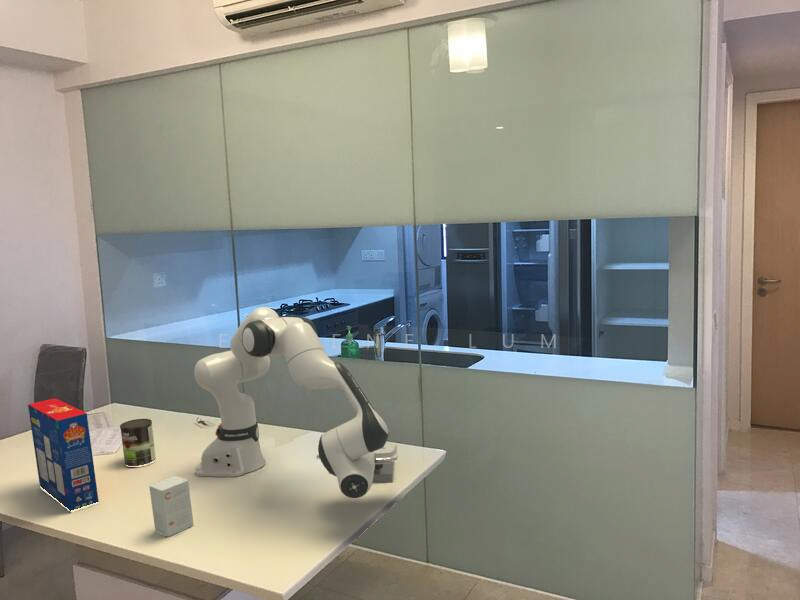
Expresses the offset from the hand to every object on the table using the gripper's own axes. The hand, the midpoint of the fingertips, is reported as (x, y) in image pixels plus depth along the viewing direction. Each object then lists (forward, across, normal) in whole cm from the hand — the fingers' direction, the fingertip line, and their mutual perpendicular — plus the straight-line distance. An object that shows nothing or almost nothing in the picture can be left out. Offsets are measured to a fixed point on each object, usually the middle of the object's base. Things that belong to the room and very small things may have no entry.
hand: (362, 443), depth 198 cm
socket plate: (+11, -2, +14) cm, 18 cm away
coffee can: (+32, +80, +16) cm, 88 cm away
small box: (-20, +50, +15) cm, 56 cm away
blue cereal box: (+7, +92, +16) cm, 94 cm away
